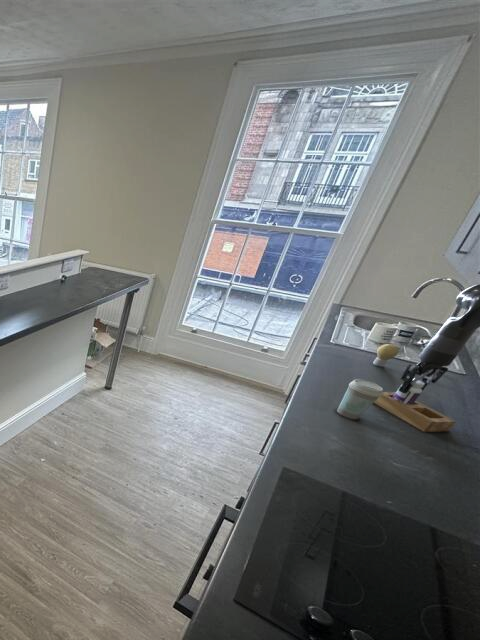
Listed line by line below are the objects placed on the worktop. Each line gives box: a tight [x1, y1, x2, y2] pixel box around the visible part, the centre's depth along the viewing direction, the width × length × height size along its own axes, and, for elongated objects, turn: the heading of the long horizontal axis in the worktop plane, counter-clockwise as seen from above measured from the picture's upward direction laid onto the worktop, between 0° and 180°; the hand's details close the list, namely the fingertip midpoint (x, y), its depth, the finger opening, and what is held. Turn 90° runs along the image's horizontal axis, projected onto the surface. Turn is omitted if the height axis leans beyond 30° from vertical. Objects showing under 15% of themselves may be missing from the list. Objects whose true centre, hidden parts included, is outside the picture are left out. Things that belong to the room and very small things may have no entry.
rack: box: [373, 391, 457, 433], centre depth 139 cm, size 10×18×4 cm, turn 8°
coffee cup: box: [336, 378, 384, 420], centre depth 134 cm, size 9×8×12 cm
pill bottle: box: [392, 380, 425, 405], centre depth 140 cm, size 5×5×10 cm
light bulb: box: [373, 343, 399, 368], centre depth 174 cm, size 6×6×10 cm
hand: (409, 391), depth 140 cm, fingers closed on pill bottle, 5 cm apart
